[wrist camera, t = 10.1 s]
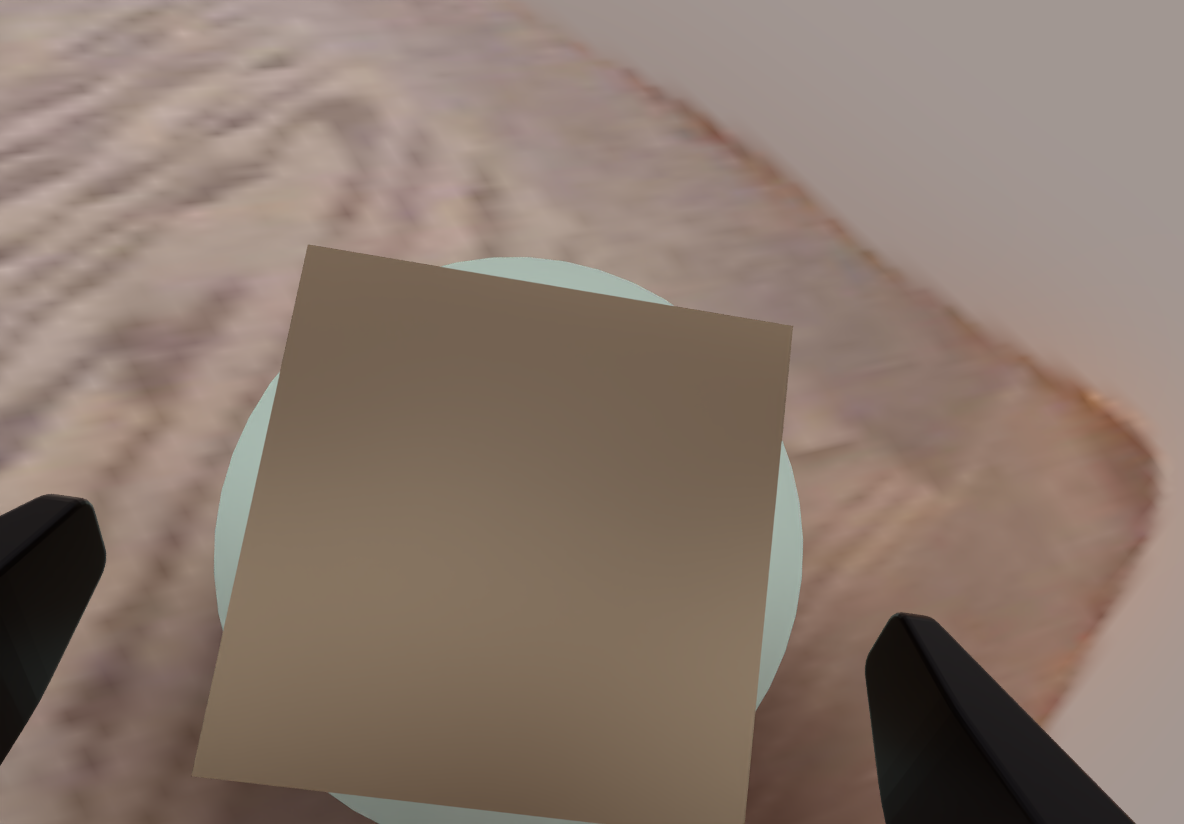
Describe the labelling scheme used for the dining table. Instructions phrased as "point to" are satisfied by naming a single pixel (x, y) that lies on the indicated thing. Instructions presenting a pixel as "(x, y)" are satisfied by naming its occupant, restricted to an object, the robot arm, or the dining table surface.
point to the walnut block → (504, 550)
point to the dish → (423, 820)
